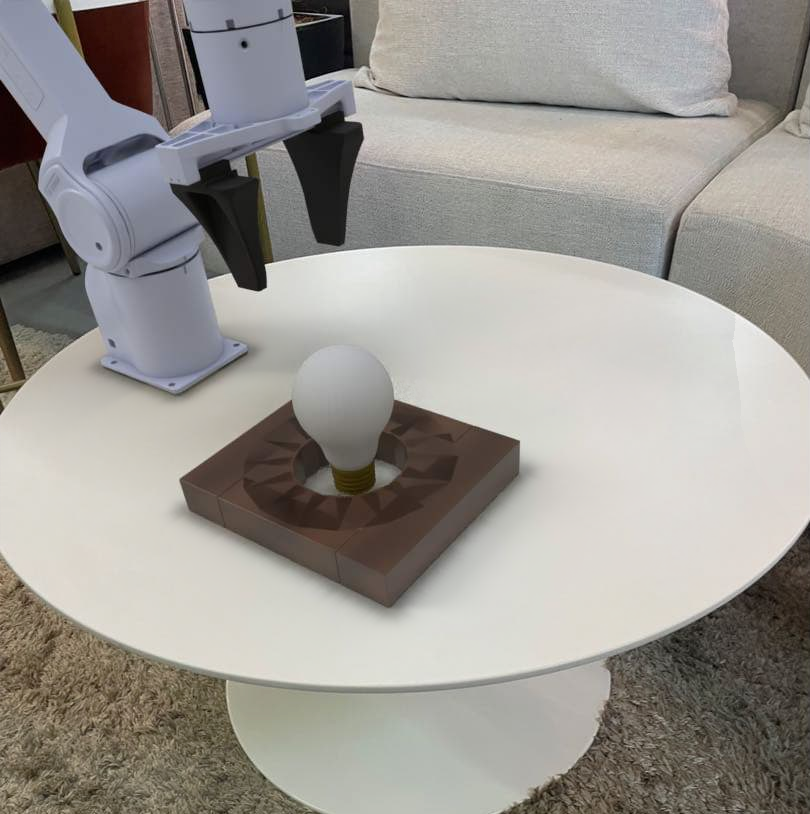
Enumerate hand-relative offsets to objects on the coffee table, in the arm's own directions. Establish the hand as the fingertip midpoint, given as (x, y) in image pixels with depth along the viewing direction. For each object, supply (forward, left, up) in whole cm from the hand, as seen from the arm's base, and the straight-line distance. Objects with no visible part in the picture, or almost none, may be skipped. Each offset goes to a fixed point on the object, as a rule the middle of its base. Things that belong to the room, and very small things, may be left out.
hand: (293, 264), depth 53 cm
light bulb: (+9, -7, -11) cm, 16 cm away
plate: (+9, -7, -10) cm, 16 cm away
